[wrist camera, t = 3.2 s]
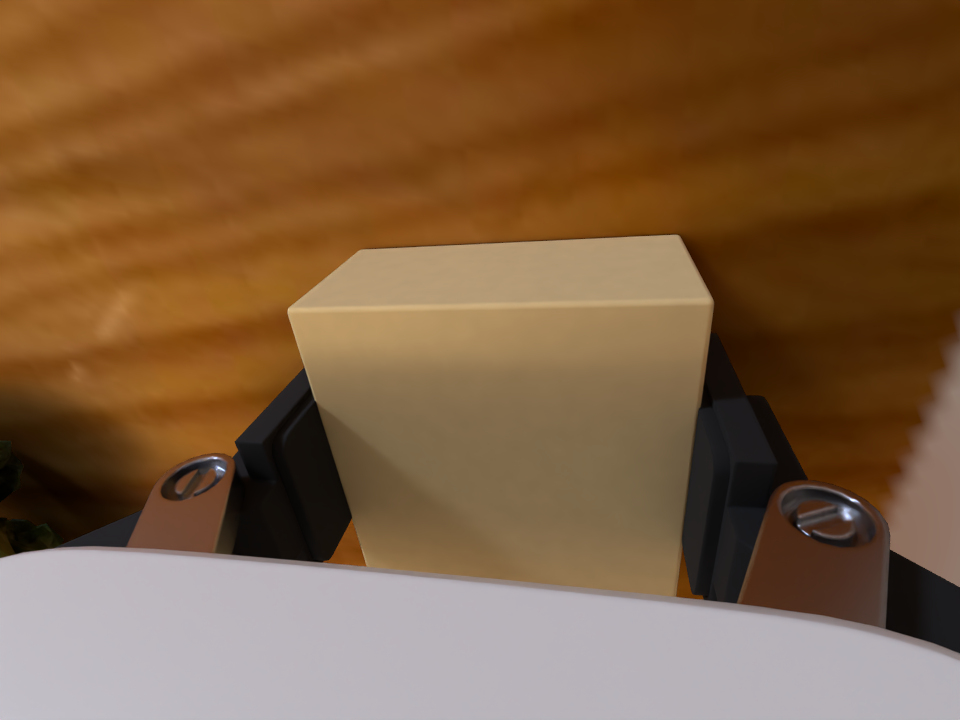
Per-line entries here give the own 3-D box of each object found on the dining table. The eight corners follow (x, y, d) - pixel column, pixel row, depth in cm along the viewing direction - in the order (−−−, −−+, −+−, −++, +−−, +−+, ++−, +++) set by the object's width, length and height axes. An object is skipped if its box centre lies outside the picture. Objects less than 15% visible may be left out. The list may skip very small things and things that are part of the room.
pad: (680, 232, 10) (716, 299, 7) (657, 491, 13) (675, 605, 10) (358, 248, 11) (283, 309, 8) (410, 478, 14) (368, 575, 12)
